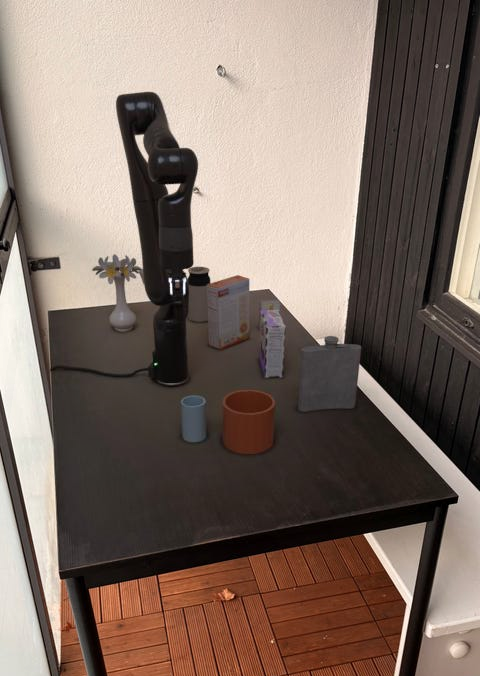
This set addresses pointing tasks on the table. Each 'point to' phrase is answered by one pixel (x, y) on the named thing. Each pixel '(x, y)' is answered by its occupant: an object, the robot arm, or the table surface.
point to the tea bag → (268, 307)
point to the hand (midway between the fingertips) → (179, 314)
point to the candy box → (272, 343)
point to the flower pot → (248, 421)
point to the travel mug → (198, 293)
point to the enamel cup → (193, 418)
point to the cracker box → (228, 311)
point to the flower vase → (120, 288)
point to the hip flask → (328, 376)
